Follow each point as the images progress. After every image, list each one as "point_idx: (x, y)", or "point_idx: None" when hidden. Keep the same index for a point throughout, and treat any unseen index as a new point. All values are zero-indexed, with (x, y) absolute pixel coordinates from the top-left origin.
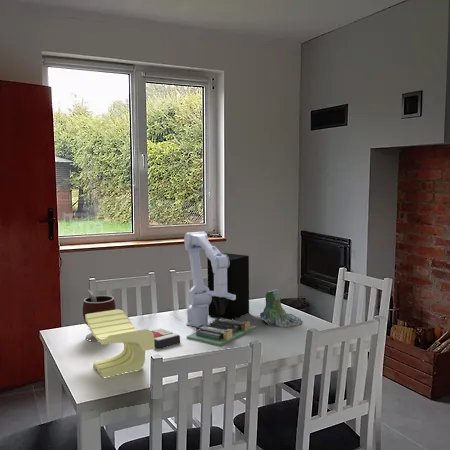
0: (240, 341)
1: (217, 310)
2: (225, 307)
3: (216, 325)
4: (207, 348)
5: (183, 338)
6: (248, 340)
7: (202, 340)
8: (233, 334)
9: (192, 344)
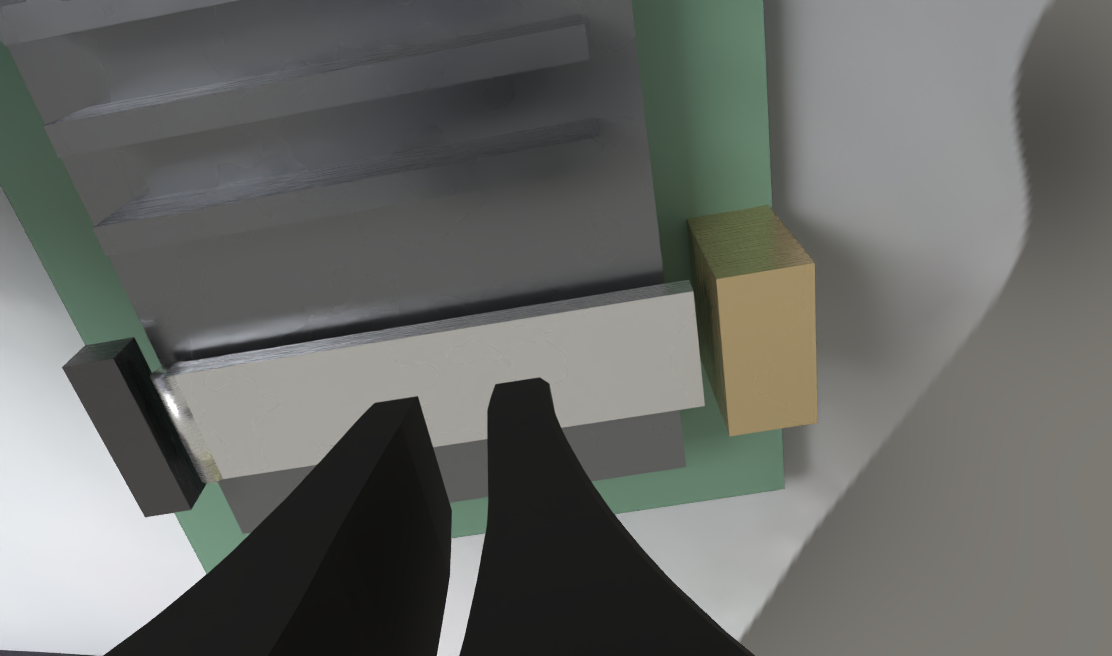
0: (906, 145)
1: (428, 629)
2: (587, 498)
3: (291, 214)
4: (691, 592)
5: (190, 568)
6: (1006, 5)
7: (478, 527)
8: (665, 52)
9: (456, 616)
